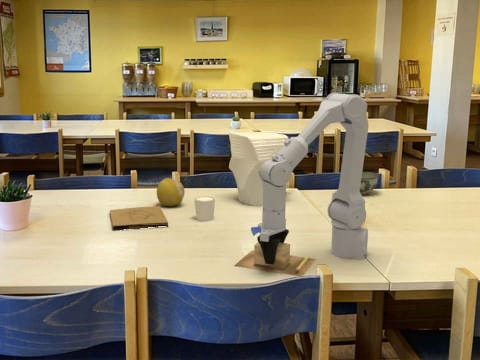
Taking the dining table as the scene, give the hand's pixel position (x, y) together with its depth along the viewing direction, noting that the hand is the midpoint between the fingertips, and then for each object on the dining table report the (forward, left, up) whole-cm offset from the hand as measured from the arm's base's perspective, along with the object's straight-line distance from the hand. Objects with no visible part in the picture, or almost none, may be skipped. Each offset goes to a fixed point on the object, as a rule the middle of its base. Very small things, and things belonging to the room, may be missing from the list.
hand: (272, 260), depth 139 cm
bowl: (-6, -93, -3) cm, 94 cm away
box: (+56, -25, -3) cm, 61 cm away
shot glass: (+36, -35, -3) cm, 50 cm away
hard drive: (+11, -26, -3) cm, 29 cm away
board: (0, -2, -2) cm, 3 cm away
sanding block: (0, 0, -1) cm, 1 cm away
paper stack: (+25, -66, -3) cm, 71 cm away
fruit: (+55, -46, -3) cm, 72 cm away
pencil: (-7, -3, -1) cm, 8 cm away
